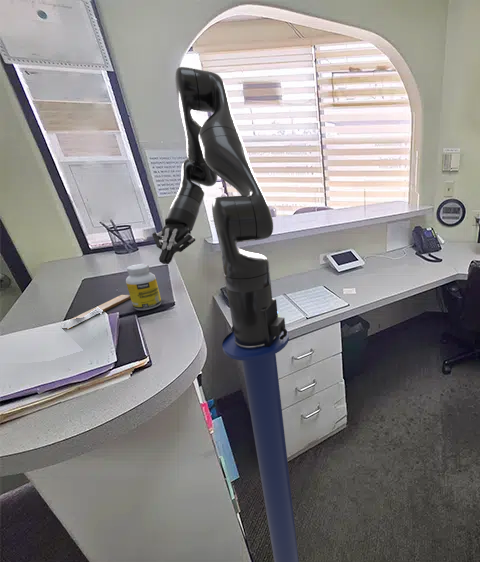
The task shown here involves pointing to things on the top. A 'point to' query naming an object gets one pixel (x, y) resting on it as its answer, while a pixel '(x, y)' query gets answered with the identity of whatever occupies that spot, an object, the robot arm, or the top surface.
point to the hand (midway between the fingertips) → (163, 262)
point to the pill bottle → (142, 287)
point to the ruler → (107, 305)
